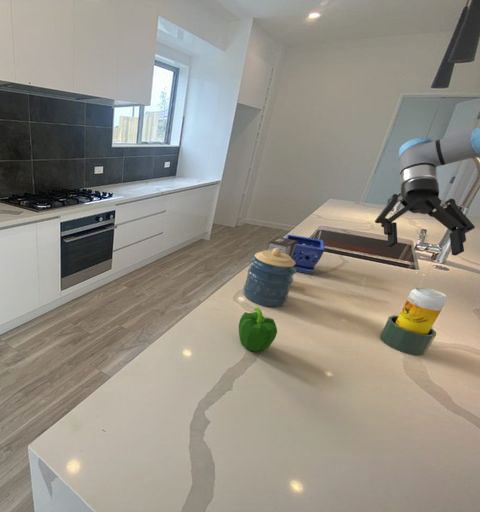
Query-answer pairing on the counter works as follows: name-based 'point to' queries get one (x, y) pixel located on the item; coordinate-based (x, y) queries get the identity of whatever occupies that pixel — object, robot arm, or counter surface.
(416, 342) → the holder
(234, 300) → the counter surface
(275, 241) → the coffee box
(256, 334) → the bell pepper
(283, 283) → the canister
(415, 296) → the yellow and white cup
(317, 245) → the flower pot
